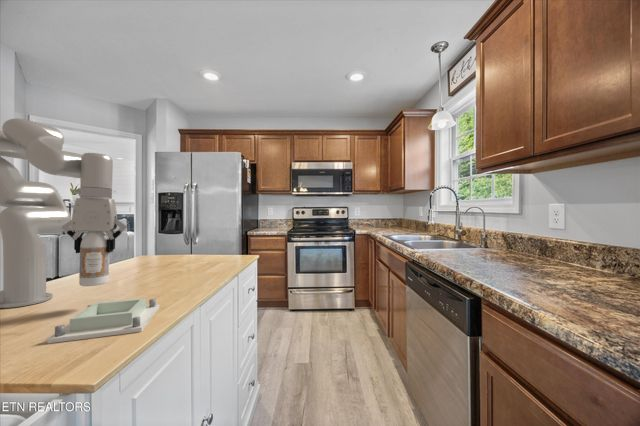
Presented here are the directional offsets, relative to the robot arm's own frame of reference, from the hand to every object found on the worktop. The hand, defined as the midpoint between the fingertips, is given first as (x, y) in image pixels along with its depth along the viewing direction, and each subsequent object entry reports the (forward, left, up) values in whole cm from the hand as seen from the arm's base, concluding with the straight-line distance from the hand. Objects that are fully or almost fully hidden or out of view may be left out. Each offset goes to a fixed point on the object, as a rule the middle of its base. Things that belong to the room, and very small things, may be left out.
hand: (95, 251), depth 82 cm
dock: (+10, -15, -17) cm, 25 cm away
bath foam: (0, 0, -10) cm, 10 cm away
